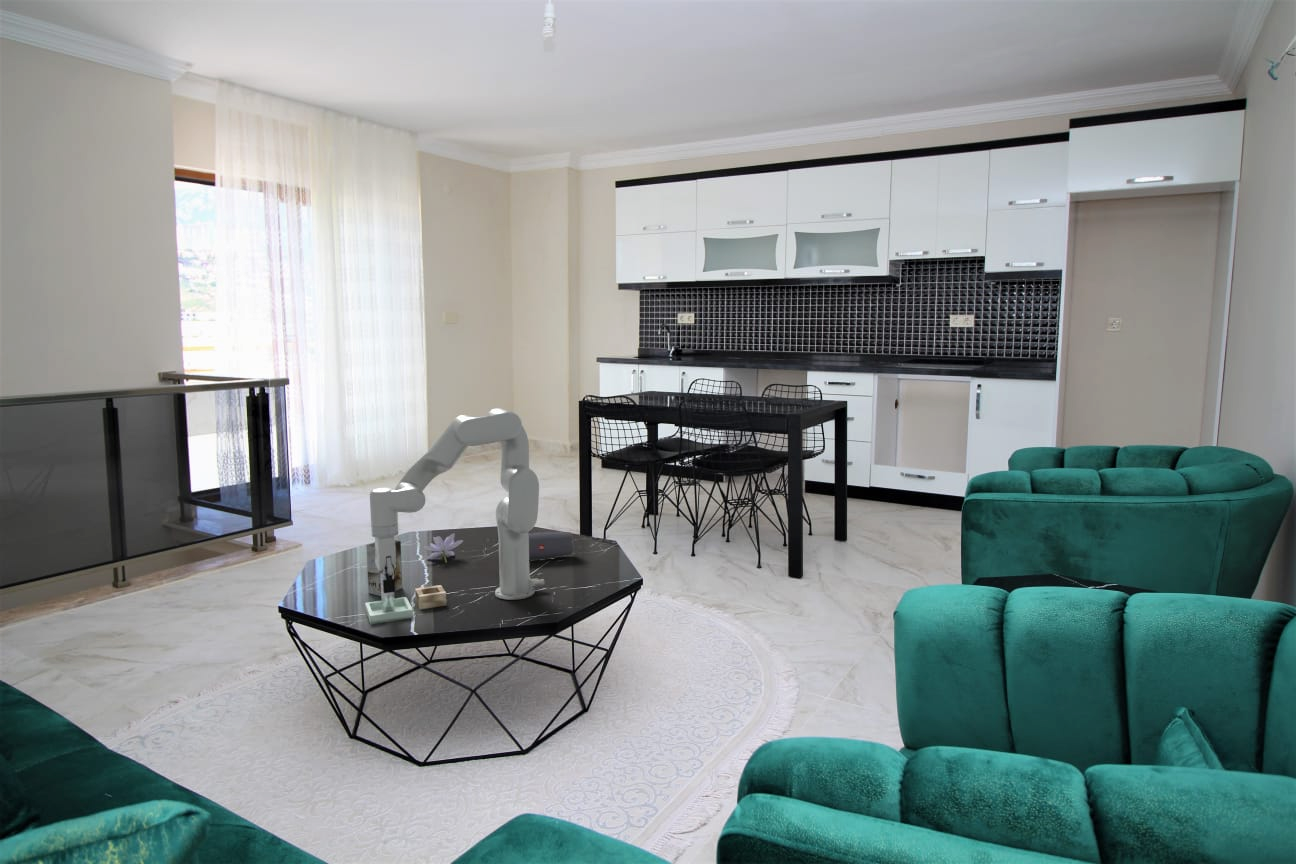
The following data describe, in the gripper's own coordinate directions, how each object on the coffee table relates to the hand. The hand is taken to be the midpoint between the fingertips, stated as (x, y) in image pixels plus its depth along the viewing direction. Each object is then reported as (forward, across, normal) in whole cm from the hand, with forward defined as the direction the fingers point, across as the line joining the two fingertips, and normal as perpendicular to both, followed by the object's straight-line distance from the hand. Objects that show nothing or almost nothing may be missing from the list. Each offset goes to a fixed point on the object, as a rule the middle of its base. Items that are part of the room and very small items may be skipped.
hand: (387, 588), depth 235 cm
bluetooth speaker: (+8, -33, +58) cm, 67 cm away
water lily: (+8, -48, +26) cm, 56 cm away
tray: (+8, 0, 0) cm, 8 cm away
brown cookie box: (+8, -22, +2) cm, 24 cm away
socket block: (+8, -4, +13) cm, 16 cm away
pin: (+7, 0, 0) cm, 7 cm away
